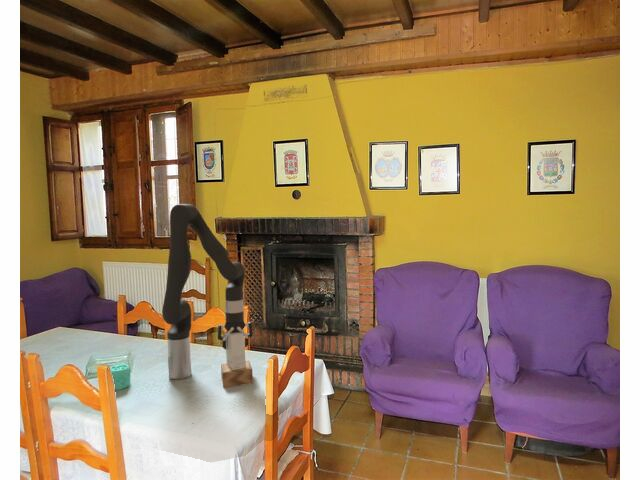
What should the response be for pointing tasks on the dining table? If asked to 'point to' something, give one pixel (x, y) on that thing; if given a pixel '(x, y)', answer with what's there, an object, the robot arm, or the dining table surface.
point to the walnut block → (236, 375)
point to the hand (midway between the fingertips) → (235, 347)
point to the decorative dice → (121, 376)
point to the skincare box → (235, 351)
